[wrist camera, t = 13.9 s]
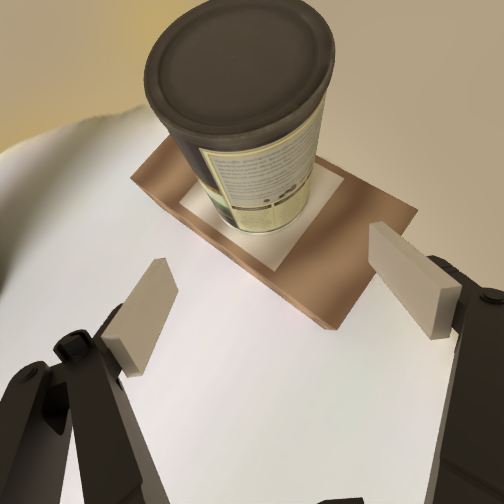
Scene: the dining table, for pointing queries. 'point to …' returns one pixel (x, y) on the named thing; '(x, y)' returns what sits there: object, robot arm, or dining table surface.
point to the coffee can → (245, 103)
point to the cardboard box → (288, 232)
